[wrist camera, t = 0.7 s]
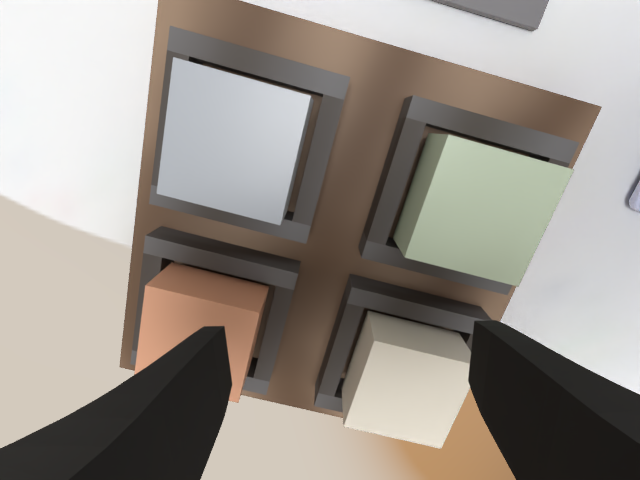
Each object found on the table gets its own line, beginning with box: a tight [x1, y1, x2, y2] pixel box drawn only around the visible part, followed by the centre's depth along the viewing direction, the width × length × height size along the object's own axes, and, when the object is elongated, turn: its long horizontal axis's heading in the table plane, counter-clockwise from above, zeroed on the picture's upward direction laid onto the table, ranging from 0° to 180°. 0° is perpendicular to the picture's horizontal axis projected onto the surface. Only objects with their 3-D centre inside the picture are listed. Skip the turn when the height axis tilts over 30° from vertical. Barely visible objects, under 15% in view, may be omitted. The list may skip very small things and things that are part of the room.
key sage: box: [393, 133, 574, 286], centre depth 13 cm, size 4×4×2 cm
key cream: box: [342, 311, 471, 448], centre depth 16 cm, size 4×4×2 cm
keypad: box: [120, 0, 602, 418], centre depth 17 cm, size 18×18×4 cm
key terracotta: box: [134, 262, 269, 403], centre depth 15 cm, size 4×4×2 cm
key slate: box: [157, 57, 314, 225], centre depth 13 cm, size 4×4×2 cm
